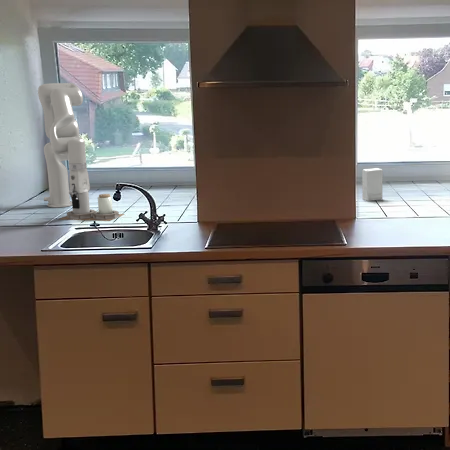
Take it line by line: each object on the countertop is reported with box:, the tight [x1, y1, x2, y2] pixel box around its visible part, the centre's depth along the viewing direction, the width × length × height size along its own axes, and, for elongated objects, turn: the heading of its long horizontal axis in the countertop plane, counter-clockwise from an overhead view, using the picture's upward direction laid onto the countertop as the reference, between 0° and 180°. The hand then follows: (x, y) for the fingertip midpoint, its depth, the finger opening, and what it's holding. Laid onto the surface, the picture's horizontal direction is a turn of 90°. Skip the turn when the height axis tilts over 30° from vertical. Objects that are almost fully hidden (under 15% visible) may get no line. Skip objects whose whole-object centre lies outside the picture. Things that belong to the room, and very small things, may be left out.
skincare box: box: [361, 167, 384, 202], centre depth 320 cm, size 8×6×15 cm
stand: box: [59, 209, 125, 222], centre depth 294 cm, size 25×15×3 cm, turn 73°
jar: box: [97, 193, 114, 214], centre depth 291 cm, size 6×6×10 cm
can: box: [71, 188, 91, 214], centre depth 295 cm, size 8×8×12 cm
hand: (80, 206), depth 295 cm, fingers closed on can, 7 cm apart
